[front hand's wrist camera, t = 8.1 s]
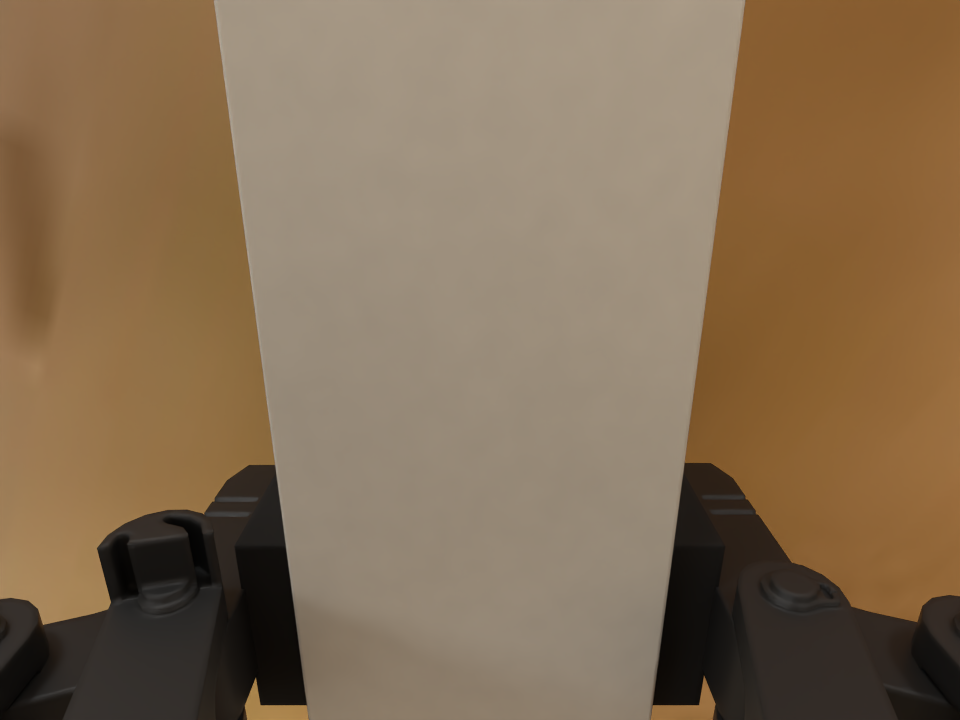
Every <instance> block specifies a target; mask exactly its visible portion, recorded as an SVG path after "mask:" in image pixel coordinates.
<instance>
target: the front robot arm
mask: <svg viewBox="0 0 960 720" xmlns="http://www.w3.org/2000/svg"><path fill="white" fill-rule="evenodd" d="M755 512H756V511H755V509H754V508H753V506H752V505H751V504H750V502H749V501H748V500H746V499H745V495H744V494H743V492H742V491H741V489H740V488H739V486H738V485H737V483H736V482H735V481H734V479H733V478H732V477H730V476H729V475H727V474H726V473H724V472H723V471H722V470H720V469H719V468H717V467H716V466H714V465H713V464H711V463H684V471H683V478H682V486H681V493H680V501H679V509H678V516H677V524H676V531H675V539H674V547H673V554H672V562H671V569H670V577H669V584H668V592H667V600H666V607H665V615H664V622H663V630H662V638H661V645H660V653H659V660H658V668H657V676H656V683H655V691H654V698H653V705H699V702H700V696H701V690H702V684H703V678H704V676H705V678H706V681H707V683H708V686H709V688H710V691H711V693H712V696H713V698H714V701H715V703H716V705H715V710H714V716H713V720H960V596H952V595H947V596H941V597H935V598H932V599H930V600H929V601H928V602H927V603H926V604H925V605H923V606H922V610H921V613H920V616H919V619H918V622H913V621H909V620H904V619H899V618H895V617H890V616H886V615H881V614H877V613H872V612H868V611H864V610H861V609H857V608H854V607H851V605H850V603H849V601H848V600H847V598H846V597H845V595H844V594H843V593H842V591H841V590H840V588H839V587H838V586H836V585H835V584H834V583H832V582H831V581H830V580H829V579H827V578H826V577H825V576H823V575H822V574H820V573H817V572H815V571H813V570H811V569H809V568H807V567H805V566H802V565H798V564H795V563H792V562H791V561H790V560H789V558H788V557H787V555H786V554H785V552H784V551H783V550H782V548H781V547H780V545H779V544H778V542H777V541H776V540H775V538H774V537H773V535H772V534H771V532H770V531H769V529H768V528H767V527H766V525H765V524H764V522H763V521H762V519H761V518H760V517H759V515H756V513H755ZM204 514H205V515H203V514H202V513H198V512H194V511H190V510H166V511H161V512H157V513H152V514H148V515H144V516H142V517H140V518H137V519H135V520H132V521H130V522H128V523H125V524H124V525H122V526H121V527H119V528H118V529H116V530H115V531H113V532H112V533H110V534H109V535H108V536H107V537H106V538H105V539H104V540H103V542H102V543H101V544H100V545H99V547H98V548H97V550H98V554H99V558H100V562H101V565H102V569H103V573H104V577H105V581H106V585H107V588H108V592H109V596H110V600H111V604H110V607H109V609H108V610H105V611H102V612H98V613H95V614H91V615H87V616H82V617H77V618H73V619H68V620H64V621H59V622H55V623H50V624H46V625H43V624H42V621H41V618H40V614H39V611H38V609H37V608H36V607H35V606H34V605H33V604H31V603H30V602H29V601H26V600H20V599H14V598H7V599H0V720H247V716H246V710H245V703H246V700H247V698H248V695H249V693H250V690H251V688H252V685H253V683H254V680H255V678H256V680H257V686H258V692H259V698H260V704H261V705H307V702H306V694H305V687H304V679H303V671H302V664H301V656H300V649H299V641H298V633H297V626H296V618H295V611H294V603H293V596H292V588H291V580H290V573H289V565H288V558H287V550H286V543H285V535H284V527H283V520H282V512H281V505H280V497H279V489H278V482H277V474H276V467H275V465H249V466H247V467H246V468H244V469H243V470H241V471H240V472H238V473H237V474H236V475H234V476H233V477H231V478H230V479H228V480H227V481H226V483H225V484H224V486H223V487H222V488H221V490H220V491H219V493H218V494H217V496H216V497H215V501H214V502H212V503H211V504H210V506H209V507H208V509H207V510H206V512H205V513H204Z"/></svg>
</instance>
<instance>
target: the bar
mask: <svg viewBox="0 0 960 720" xmlns="http://www.w3.org/2000/svg"><path fill="white" fill-rule="evenodd" d="M214 5H215V12H216V20H217V27H218V35H219V42H220V50H221V58H222V65H223V73H224V80H225V88H226V95H227V103H228V111H229V118H230V126H231V133H232V141H233V148H234V156H235V164H236V171H237V179H238V186H239V194H240V202H241V209H242V217H243V224H244V232H245V239H246V247H247V255H248V262H249V270H250V277H251V285H252V292H253V300H254V308H255V315H256V323H257V330H258V338H259V346H260V353H261V361H262V368H263V376H264V383H265V391H266V399H267V406H268V414H269V421H270V429H271V436H272V444H273V452H274V459H275V467H276V474H277V482H278V489H279V497H280V505H281V512H282V520H283V527H284V535H285V543H286V550H287V558H288V565H289V573H290V580H291V588H292V596H293V603H294V611H295V618H296V626H297V633H298V641H299V649H300V656H301V664H302V671H303V679H304V687H305V694H306V702H307V709H308V717H309V720H651V714H652V706H653V698H654V691H655V683H656V676H657V668H658V660H659V653H660V645H661V638H662V630H663V622H664V615H665V607H666V600H667V592H668V584H669V577H670V569H671V562H672V554H673V547H674V539H675V531H676V524H677V516H678V509H679V501H680V493H681V486H682V478H683V471H684V463H685V455H686V448H687V440H688V433H689V425H690V417H691V410H692V402H693V395H694V387H695V380H696V372H697V364H698V357H699V349H700V342H701V334H702V326H703V319H704V311H705V304H706V296H707V288H708V281H709V273H710V266H711V258H712V250H713V243H714V235H715V228H716V220H717V212H718V205H719V197H720V190H721V182H722V175H723V167H724V159H725V152H726V144H727V137H728V129H729V121H730V114H731V106H732V99H733V91H734V83H735V76H736V68H737V61H738V53H739V45H740V38H741V30H742V23H743V15H744V8H745V0H214Z"/></svg>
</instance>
